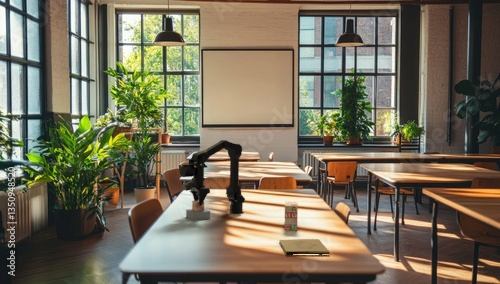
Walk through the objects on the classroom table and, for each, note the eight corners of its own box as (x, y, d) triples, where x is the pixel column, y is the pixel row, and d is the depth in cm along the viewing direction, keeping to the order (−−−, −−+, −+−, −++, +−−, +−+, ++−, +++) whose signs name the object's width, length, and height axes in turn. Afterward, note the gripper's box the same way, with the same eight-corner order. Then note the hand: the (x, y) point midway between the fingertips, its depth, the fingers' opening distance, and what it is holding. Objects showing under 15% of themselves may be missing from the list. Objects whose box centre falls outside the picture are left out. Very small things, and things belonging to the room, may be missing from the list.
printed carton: (285, 221, 262) (285, 198, 262) (297, 222, 262) (297, 199, 261) (284, 230, 241) (284, 205, 240) (297, 230, 240) (297, 205, 240)
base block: (203, 215, 276) (203, 208, 276) (210, 218, 267) (210, 211, 267) (186, 216, 271) (186, 209, 271) (192, 220, 263) (192, 212, 262)
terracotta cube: (200, 209, 273) (200, 200, 272) (204, 210, 268) (204, 201, 268) (192, 209, 270) (192, 200, 270) (195, 211, 266) (195, 202, 266)
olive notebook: (279, 243, 215) (279, 238, 215) (319, 243, 216) (319, 238, 216) (285, 257, 194) (285, 251, 194) (329, 257, 195) (329, 251, 195)
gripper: (178, 175, 273) (178, 203, 274) (190, 178, 256) (190, 208, 257) (197, 174, 278) (197, 202, 279) (210, 177, 262) (210, 207, 262)
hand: (198, 204), depth 269 cm, fingers open, 6 cm apart
